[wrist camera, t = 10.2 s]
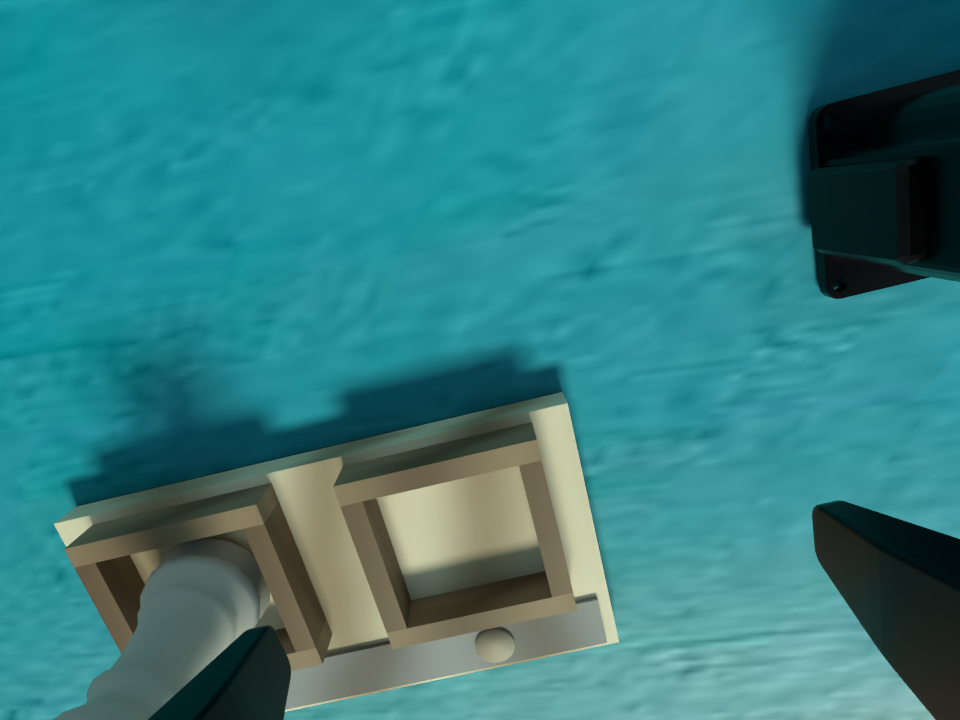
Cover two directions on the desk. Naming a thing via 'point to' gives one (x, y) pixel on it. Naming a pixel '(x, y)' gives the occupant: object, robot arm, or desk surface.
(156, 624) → the rook chess piece
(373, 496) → the board
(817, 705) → the desk surface
